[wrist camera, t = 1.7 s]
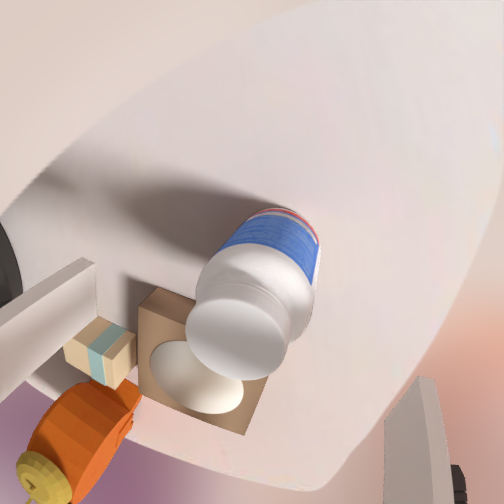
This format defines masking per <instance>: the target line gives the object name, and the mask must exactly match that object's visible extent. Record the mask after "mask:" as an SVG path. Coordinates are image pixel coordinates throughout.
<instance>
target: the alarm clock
mask: <svg viewBox="0 0 504 504" xmlns="http://www.w3.org/2000/svg"><path fill="white" fill-rule="evenodd" d="M141 397H142V394H140V393H139V387H137V386H136V385H134V384H133V383H131V382H130V381H128V380H127V379H124V380H123V381H122V382H121V383H120V385H119V386H118V387H117V388H116V390H114V389H112V388H111V387H109V386H107V385H106V386H105V385H103V384H101V383H99V382H97V381H96V380H94V379H91V381H90V382H89V383H78V384H76V385H74V386H73V387H71V388H70V389H68V390H67V391H66V392H64V393H63V394H62V395H61V396H60V397H59V398H58V399H57V400H56V401H55V402H54V403H53V404H52V406H51V407H50V408H49V409H48V410H47V412H46V413H45V414H44V415H43V417H42V419H41V420H40V422H39V424H38V425H37V427H36V429H35V430H34V432H33V434H32V437H31V439H30V442H29V444H28V447H27V451H26V452H24V453H22V454H21V456H20V457H19V459H18V461H17V463H16V468H17V476H18V479H19V481H20V483H21V485H22V486H23V488H24V489H25V490H26V491H27V492H28V494H29V495H30V498H29V500H28V501H27V502H26V504H30V502H31V501H32V500H33V499H34V501H35V502H36V503H37V504H77V503H78V502H80V501H81V500H82V499H83V498H84V497H85V496H86V495H87V494H88V492H89V491H90V490H91V489H92V487H93V486H94V485H95V483H96V482H97V481H98V479H99V478H100V476H101V475H102V473H103V472H104V470H105V469H106V467H107V466H108V464H109V462H110V461H111V459H112V458H113V456H114V454H115V452H116V451H117V449H118V447H119V445H120V443H121V442H122V440H123V438H124V437H125V436H126V434H127V433H128V432H129V431H130V430H131V428H132V425H133V421H132V418H133V415H134V414H133V411H134V410H135V408H136V407H137V405H138V403H139V402H140V400H141Z"/></svg>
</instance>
